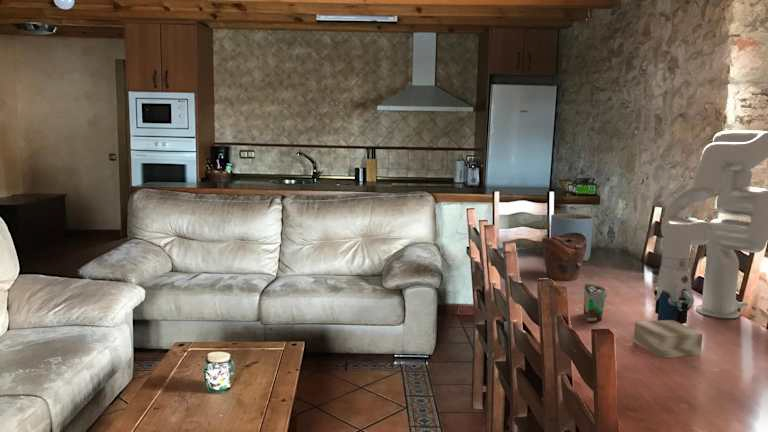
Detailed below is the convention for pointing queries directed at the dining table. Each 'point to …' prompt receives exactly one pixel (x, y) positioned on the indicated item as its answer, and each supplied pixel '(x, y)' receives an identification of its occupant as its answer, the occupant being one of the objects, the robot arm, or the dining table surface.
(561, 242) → the brown tapered round vessel
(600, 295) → the food container
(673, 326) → the ash block
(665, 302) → the soda can
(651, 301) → the dining table surface
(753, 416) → the dining table surface
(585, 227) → the planter
